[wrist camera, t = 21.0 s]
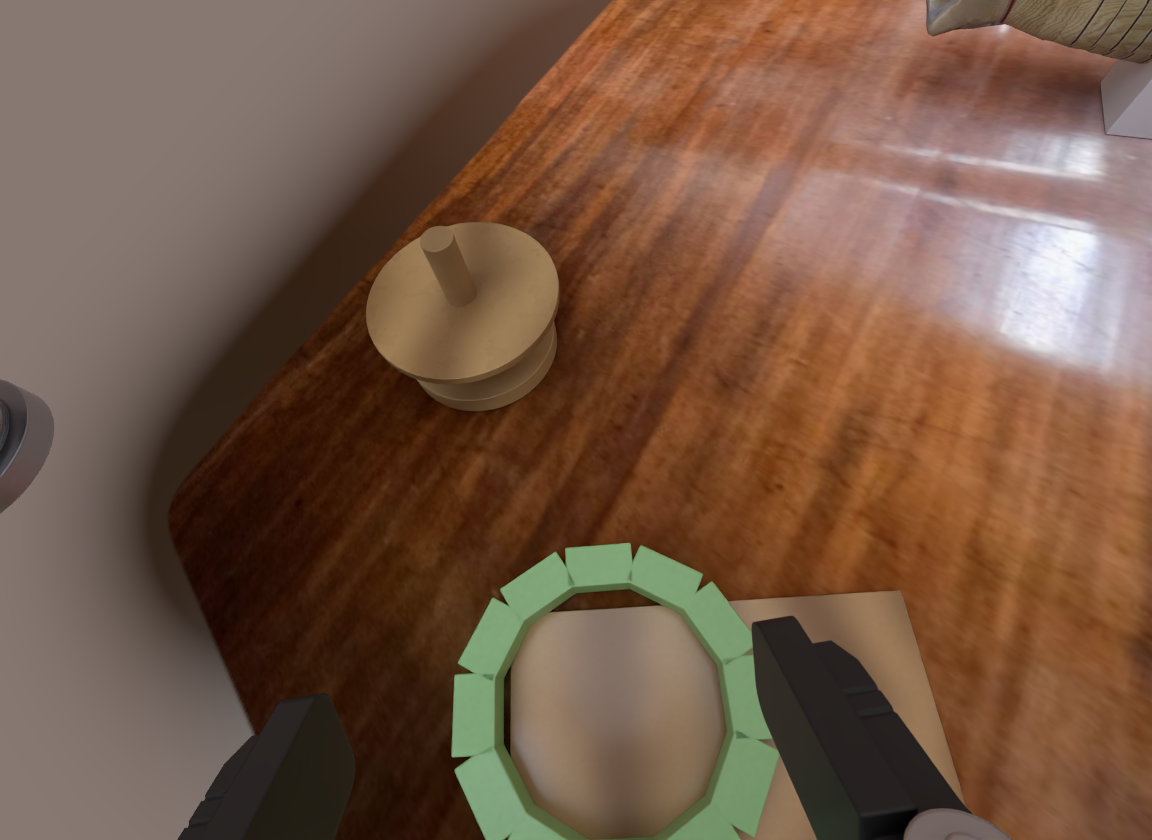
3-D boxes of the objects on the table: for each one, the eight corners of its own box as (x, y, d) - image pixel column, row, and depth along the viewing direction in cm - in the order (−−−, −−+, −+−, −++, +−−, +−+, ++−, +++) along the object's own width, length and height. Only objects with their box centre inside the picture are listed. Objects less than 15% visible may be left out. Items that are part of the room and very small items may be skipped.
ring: (459, 902, 24) (444, 920, 22) (469, 564, 30) (458, 556, 28) (800, 888, 23) (814, 905, 21) (734, 542, 29) (741, 533, 28)
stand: (393, 430, 35) (309, 342, 26) (409, 288, 40) (344, 173, 31) (573, 414, 34) (550, 318, 25) (565, 271, 39) (544, 149, 30)
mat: (510, 997, 23) (508, 1001, 22) (512, 615, 29) (510, 614, 29) (1017, 989, 21) (1023, 994, 21) (898, 591, 28) (901, 589, 28)
